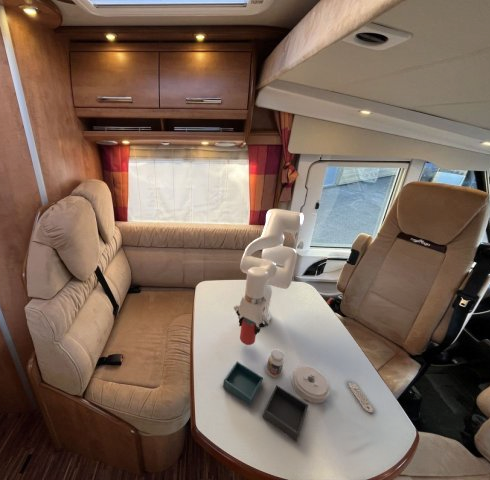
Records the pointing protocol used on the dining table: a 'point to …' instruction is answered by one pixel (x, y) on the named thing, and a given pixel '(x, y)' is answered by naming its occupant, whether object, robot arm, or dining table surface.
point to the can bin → (285, 412)
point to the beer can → (247, 331)
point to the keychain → (360, 397)
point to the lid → (310, 384)
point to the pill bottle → (275, 363)
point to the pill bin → (243, 383)
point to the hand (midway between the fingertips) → (248, 328)
